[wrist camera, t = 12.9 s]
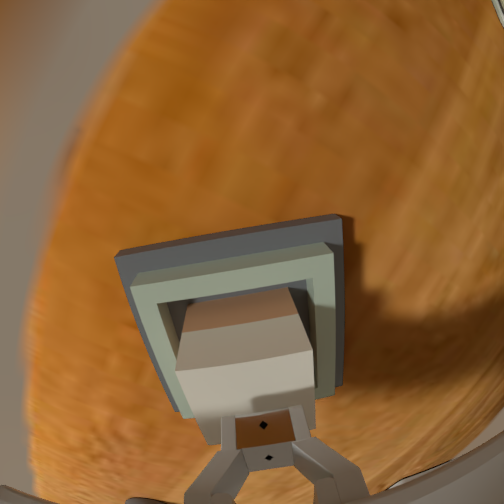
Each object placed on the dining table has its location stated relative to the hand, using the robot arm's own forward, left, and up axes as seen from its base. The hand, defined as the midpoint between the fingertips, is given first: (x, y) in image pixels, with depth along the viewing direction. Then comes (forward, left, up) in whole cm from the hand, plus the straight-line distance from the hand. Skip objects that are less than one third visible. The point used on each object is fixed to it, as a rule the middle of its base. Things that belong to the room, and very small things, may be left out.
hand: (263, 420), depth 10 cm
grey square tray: (0, 0, -7) cm, 7 cm away
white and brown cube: (0, 0, -6) cm, 6 cm away
